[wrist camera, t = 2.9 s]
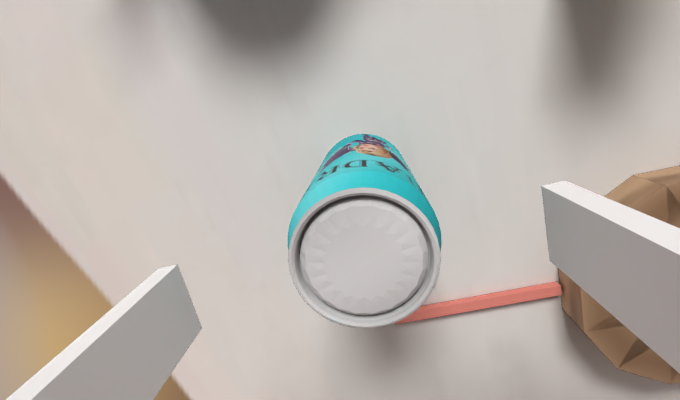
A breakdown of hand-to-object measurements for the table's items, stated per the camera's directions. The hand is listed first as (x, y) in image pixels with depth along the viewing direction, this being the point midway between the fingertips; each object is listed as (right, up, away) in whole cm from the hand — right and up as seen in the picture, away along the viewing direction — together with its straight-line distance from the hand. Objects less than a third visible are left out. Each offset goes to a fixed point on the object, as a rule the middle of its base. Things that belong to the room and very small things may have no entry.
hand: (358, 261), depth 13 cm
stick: (+10, -6, +16) cm, 20 cm away
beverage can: (+1, +4, +14) cm, 15 cm away
